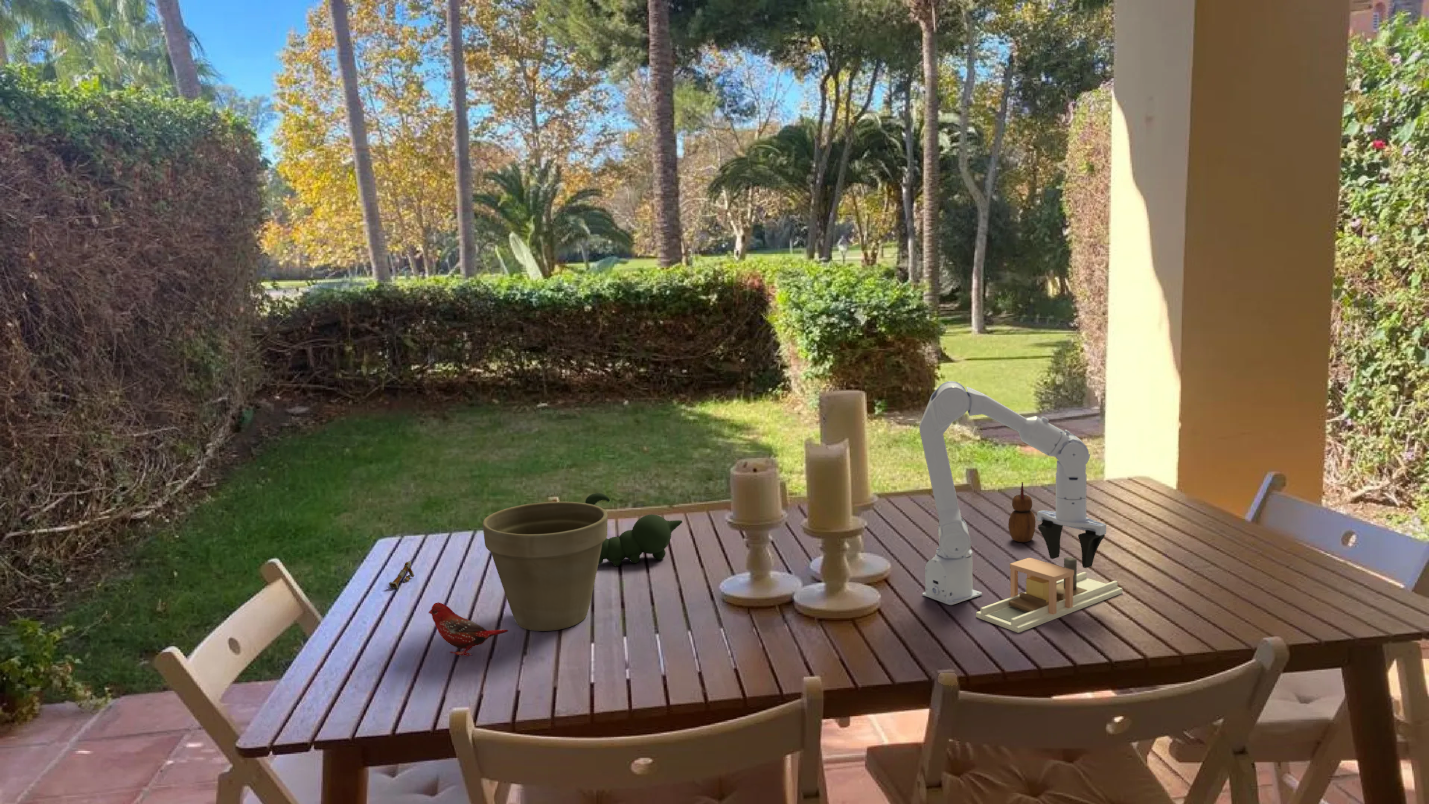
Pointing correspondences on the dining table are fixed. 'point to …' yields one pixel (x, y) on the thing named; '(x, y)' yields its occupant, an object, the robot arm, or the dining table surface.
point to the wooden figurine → (1022, 518)
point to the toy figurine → (636, 537)
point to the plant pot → (547, 560)
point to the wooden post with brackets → (402, 573)
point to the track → (1055, 574)
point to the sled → (1033, 603)
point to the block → (1038, 587)
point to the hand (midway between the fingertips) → (1070, 562)
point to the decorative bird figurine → (459, 629)
